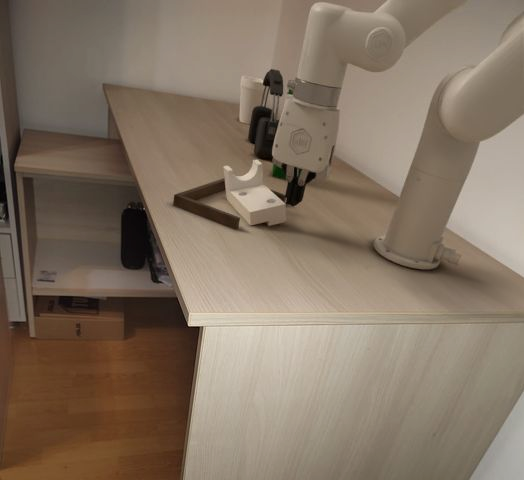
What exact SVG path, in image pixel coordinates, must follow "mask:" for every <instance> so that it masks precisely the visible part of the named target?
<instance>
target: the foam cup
mask: <svg viewBox="0 0 524 480" xmlns="http://www.w3.org/2000/svg"><path fill="white" fill-rule="evenodd" d="M263 80H264V79H263V78H262V79H261V78H258V77H254V76H248V75H241V76H240V82H239V88H240V90H239V116H238V117H239V119H238V120H239V122H241V123H243V124H245V125H246V124H247V125H250V122H251V116H252V111H253V108H254V107H256V106H261V101H262V96H263V92H264V88H265V86H263ZM268 88H269V87H268V86H267V87H266V91H265V95H264V99H263V105H262V106H264V104H265V99H266V95H267V91H268Z"/></svg>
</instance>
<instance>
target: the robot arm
mask: <svg viewBox="0 0 524 480" xmlns="http://www.w3.org/2000/svg"><path fill="white" fill-rule="evenodd" d="M472 1H473V0H386V1H385V2H384V3H383V4H381V5H380V6H379V7H378V8H377V9H376V10H375V11H374V12H367V11H366V12H365V11H356V10H354V9H352V8H350V7H347V6H344V5H339V4H335V3H331V2H324V1H319V2H315V3H313V5H311V8H310V10H309V14H308V18H307V22H306V27H305V32H304V37H303V44H302V48H301V53H300V58H299V62H298V63H299V64H298V69H297V74H296V77H295V78H294V79H293V80H292V79H288V80H287V84H286V88H287V89H288V90H289V89H291V91H293V92H292V95H293V98H288V99H287V101H286V103H285V102H284V104H285V106H284V105H283V108H284V109H283V108H282V112H281V115H280V118H279V124H278V128H277V131H276V135H275V139H274V144H273V149H272V156H273V159H271V160H272V161H271V162H272V164H273V163H274V164H275V165H277V166H278V167H280V168H282V170H283V172H284V173H285V175H286V179H285V180H286V182H287V185H286V190H285V194H284V195H285V198H286V201H285V204H286V205H287V206H291V207H292V208H294V207H296V206H297V205H299V204H300V203H301V202H302V201H303V199H304V196H305V195H304V194H305V191H306V186H307V184H309V183H310V182H311V181H313V180H320V181H321V180H324V181H325V180H327V179H329V178H330V167H331V166H332V164H333V161H334V156H335V151H336V147H337V143H338V142H337V141H338V134H339V126H340V116H341V115H340V114H341V110H340V109H339V108H338V104H339V100H340V96H341V93H342V88H343V84H344V81H345V76H346V72H347V69H348V68H347V67H348V64H349V65H352V66H355V67H358V69H359V68H360V69H362V70H364V71H367V72H371V73H382V72H386V71H388V70H390V69H391V68H393V67H394V66H395V65H396V64H397V63H398V62H399V60H400V59H401V58H402V55H403V53H404V50H405V49H407V47H409V46H410V45H411V44H412V43H414V41H415V40H417V39H418V38H419V37H420V36H421V35H423V34H424V33H426V31H428V30H430V28H432V27H433V26H434V25H436V24H437V23H438V22H439V21H441V20H442V19H444V18H445V17H446V16H448V15H449V14H451V13H453V12H455V11H456V10H458V9H460V8H463V7H464V6H466V5H467V4H468V5H469V4H470V2H472ZM522 116H524V11H522V12H521V13H519V15H517V16H516V17H514V19H513V20H512V21H511V22H510V23H508V25H507V27H506V28H505V29H504V31H503V32H502V34H501V36H500V39H499V41H498V45H497V48H496V49H494V50H493V51H492V52H490V54H489V55H487V56H486V57H485V58H484V59H483V60H482V61H481V62H479V63H478V64H466V65H461V66H458V67H456V68H454V69H453V70H451V71H450V72H448V73H447V74H446V75H445V76H444V77H443V78H442V79H441V80H440V82H439V84H438V85H437V87H436V89H435V90H434V92H433V95H432V98H431V99H430V103H429V107H428V109H427V114H426V117H425V121H424V124H423V128H422V132H421V134H420V138H419V141H418V144H417V147H416V150H415V152H414V155H413V159H412V161H411V164H410V166H409V169H408V172H407V175H406V177H405V180H404V182H403V186H402V188H401V192H400V194H399V197H398V200H397V203H396V206H395V207H394V211H393V214H392V216H391V219H390V222H389V225H388V228H387V231H386V234H384V235H379V236H378V237H376V238H375V240H374V243H373V247H374V249H375V251H376V252H377V253H378V254H379V255H381V256H382V257H383V258H385V259H386V260H388V261H391V262H392V263H394V264H397V265H400V266H403V267H407V268H411V269H416V270H433V269H436V268H438V267H439V265H440V263H441V260H443V261H446V262H447V263H450V264H451V265H455V266H458V264H459V261H460V259H461V257H462V254H460V253H457V250H456V249H453V248H451V247H448V246H445V244H443V240H444V236H443V234H444V232H445V230H446V228H447V225H448V223H449V220H450V218H451V216H452V213H453V211H454V209H455V206H456V204H457V203H458V202H457V201H458V199H459V197H460V195H461V192H462V190H463V187H464V185H465V183H466V180H468V179H467V178H468V176H469V173H471V172H470V171H471V169H472V167H473V164H474V161H475V158H476V156H477V153H478V150H479V146H480V143H481V142H484V141H487V140H489V139H491V138H492V137H495V136H497V135H498V134H500V133H501V132H502V131H504V130H505V129H507V128H508V127H510V126H511V125H512V124H513V123H515V122H516V121H518V120H519V119H520V118H521V117H522ZM299 168H301V169H302V172H301V174H300V177H299V180H298V169H299Z"/></svg>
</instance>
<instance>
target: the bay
mask: <svg viewBox="0 0 524 480" xmlns="http://www.w3.org/2000/svg"><path fill="white" fill-rule="evenodd" d="M268 189H269V188H268ZM269 190H270V191H272V192H273V193H274V194H275V195H276V196H277V197H278V198H279V199H281V200H282V201H283V202H284V203H285V204H286V199H287V198H285V194H284V193H281V192H278V191H276V190H273V189H269ZM221 191H226V188H225V178H224V177H223V178H220V179H217V180H215V181H211V182H208V183H205V184H202V185H198V186H196V187H194V188H190V189H187V190H185V191H181V192H178V193H175V194H174V195H173V203H172V205H173V207H174V206H175V207H177V208H180V209H182V210H184V211H188V212H190V213H192V214H195V215H198V216H200V217H202V218H205V219H208V220H209V221H210V220H211V221H212V222H213V221H214V222H216V223H218V224H221V225H223V226H226V227H228V228H231V229H233V230H238V229H239V226H240V222H241V221H240V220H241V217H240V216H237V215H234V214H233V213H230V212H226V211H223V210H221V209H218V208H216V207H213V206H210V205H208V204H205V203H202V202H200V201H198V200H200V199H202V198H206V197H208V196H211V195H214V194H217V193H219V192H221Z"/></svg>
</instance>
